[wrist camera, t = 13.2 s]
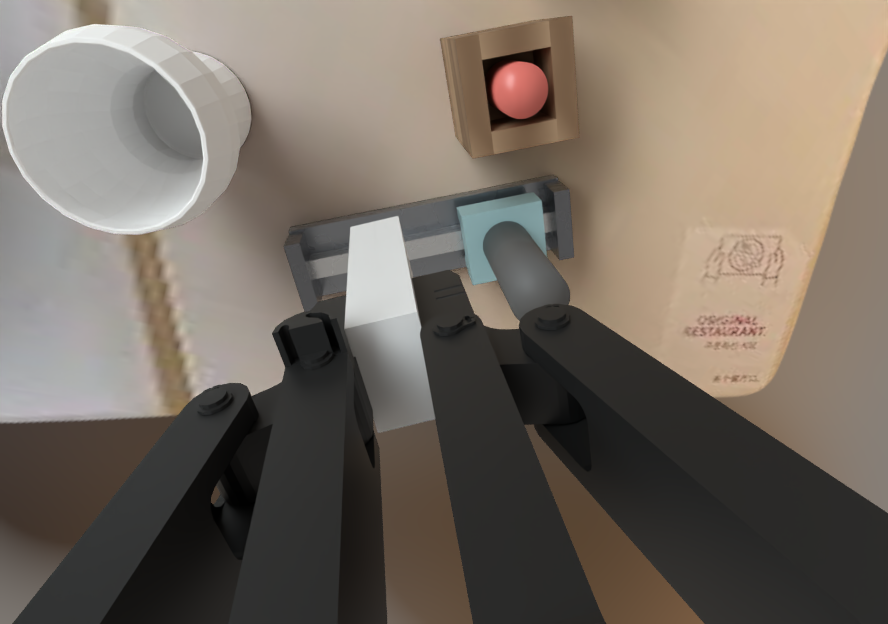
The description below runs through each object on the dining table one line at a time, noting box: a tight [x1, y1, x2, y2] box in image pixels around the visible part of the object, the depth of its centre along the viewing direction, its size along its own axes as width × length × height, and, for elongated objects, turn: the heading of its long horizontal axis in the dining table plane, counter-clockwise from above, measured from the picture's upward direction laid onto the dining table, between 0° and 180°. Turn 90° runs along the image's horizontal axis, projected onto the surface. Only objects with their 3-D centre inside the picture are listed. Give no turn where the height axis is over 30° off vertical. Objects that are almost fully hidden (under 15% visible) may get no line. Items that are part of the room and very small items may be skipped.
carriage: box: [457, 192, 570, 321], centre depth 39 cm, size 6×6×13 cm
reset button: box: [485, 60, 548, 119], centre depth 36 cm, size 3×3×4 cm
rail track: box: [284, 175, 574, 312], centre depth 45 cm, size 22×6×4 cm, turn 100°
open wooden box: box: [440, 16, 579, 159], centre depth 38 cm, size 7×8×9 cm
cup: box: [2, 24, 251, 235], centre depth 34 cm, size 11×11×15 cm
